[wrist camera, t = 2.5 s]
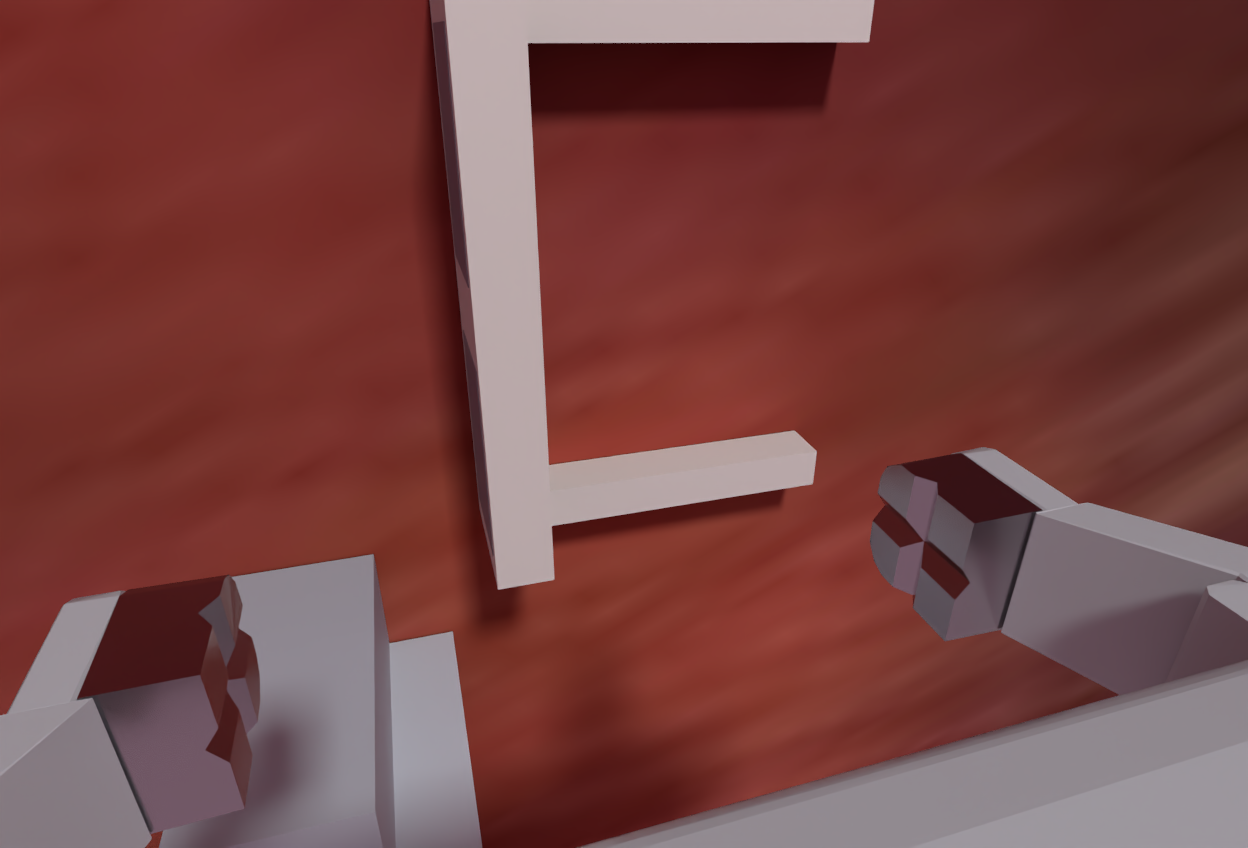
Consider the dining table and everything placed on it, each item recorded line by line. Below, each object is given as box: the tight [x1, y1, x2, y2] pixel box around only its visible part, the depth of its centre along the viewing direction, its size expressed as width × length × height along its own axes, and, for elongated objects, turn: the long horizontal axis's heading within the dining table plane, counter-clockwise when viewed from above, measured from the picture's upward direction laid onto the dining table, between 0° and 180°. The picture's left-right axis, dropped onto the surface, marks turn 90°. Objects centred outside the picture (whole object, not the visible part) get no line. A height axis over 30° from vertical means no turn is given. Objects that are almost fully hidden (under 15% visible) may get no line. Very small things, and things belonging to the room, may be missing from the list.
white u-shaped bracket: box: [429, 0, 874, 590], centre depth 20 cm, size 10×14×4 cm
